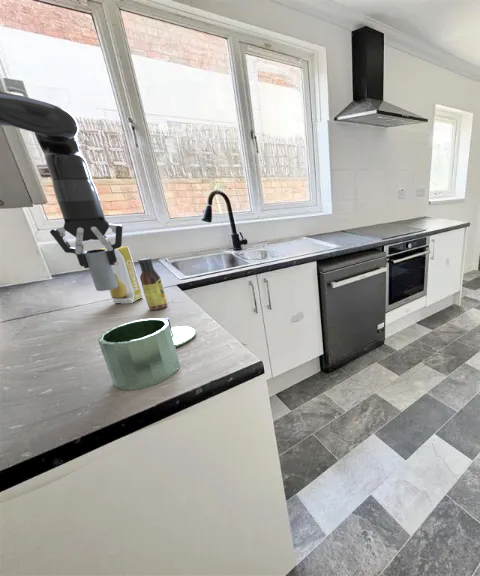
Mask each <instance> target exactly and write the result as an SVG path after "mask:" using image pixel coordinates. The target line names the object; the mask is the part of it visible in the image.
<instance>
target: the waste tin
mask: <svg viewBox="0 0 480 576" xmlns="http://www.w3.org/2000/svg"><path fill="white" fill-rule="evenodd" d="M97 342H98V344H99V348H100V350H101V353H102V355H103V358H104V361H105V364H106V366H107V370H108V372H109V375H110V378H111V380H112V383H113V385H114V387H115V388H116V389H118V390H121V391H136V390H142V389H146V388H149V387H153V386H155V385H157V384H161V383H162V382H164V381H165V380H168V379H169V378H171V377H173V376H174V375H175V374H176V373H177V372H178V370H179V369H180V366H181V364H180V360H179V356H178V352H177V347H175V345H174V341H173V337H172V334H171V330H170V326H169V323H168V321H167V320H164V319H162V318H154V317H153V318H143V319H138V320H133V321H130V322H126V323H123V324H120V325H117V326H115V327H112V328H110V329H108V330H106V331H105V332H103V333H102V334H101V335H99V337H98V339H97Z"/></svg>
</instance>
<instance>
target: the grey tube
mask: <svg viewBox="0 0 480 576" xmlns="http://www.w3.org/2000/svg"><path fill="white" fill-rule="evenodd" d="M83 253H84V255H85V258H86V261H87V264H88V267H89V268H88V270H89V273H90V275H91V279H92V282H93V285H94V288H95V290H96V291H97V292H105V291H106V292H107V291H109V290H111V289H114V288H117V287H118V284H117V281H116V278H115V274H114V271H113V268H112V265H111V264H110V261H109V257H108V254H107V250H106V249H101V248H97V249H91V250H86V251H83Z"/></svg>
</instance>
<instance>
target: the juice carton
mask: <svg viewBox="0 0 480 576" xmlns="http://www.w3.org/2000/svg"><path fill="white" fill-rule="evenodd" d="M103 246H104V245H103ZM100 249H106V247H105V246H104V247H101V248H100ZM106 250H107V249H106ZM114 251H115V255H116V258H117V261H116V262H115V265H112V268H113V271H114V274H115V278H116V281H117V284H118V287H117V288H114V289H111V290H108V291H109V294H110V298H111V300H112V302H113V304H115V303H121V304H134V303H136V302H137V301H136V300H138V299H140V298H142V297H143V298H144V295H143V291H142V290H143V289H142V286H141V284H140V280H139V277H138V273H137V270H136V269H137V268H136V266H135V263H134V259H133V256H132V253H131V250H130V248H129V246H128V245H124V246H121V247H120V248H117V249H115V250H114ZM143 298H142V299H143ZM140 300H141V299H140ZM135 301H136V302H135ZM138 301H139V300H138ZM133 302H134V303H133Z"/></svg>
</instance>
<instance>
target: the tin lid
mask: <svg viewBox="0 0 480 576" xmlns="http://www.w3.org/2000/svg"><path fill="white" fill-rule="evenodd" d="M161 319H164V320H167V321H168V323H169V326H170V330H171V334H172V337H173V341H174V345H175V348H177V347H179V346H181V345H184V344H186V343H188V342H189V341H191V340H192V339H193V338H194V337H195V336H196V329H194V328H193V327H190V326H174V327H172V325H171V321H170V318H169V317H162V318H161Z"/></svg>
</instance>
